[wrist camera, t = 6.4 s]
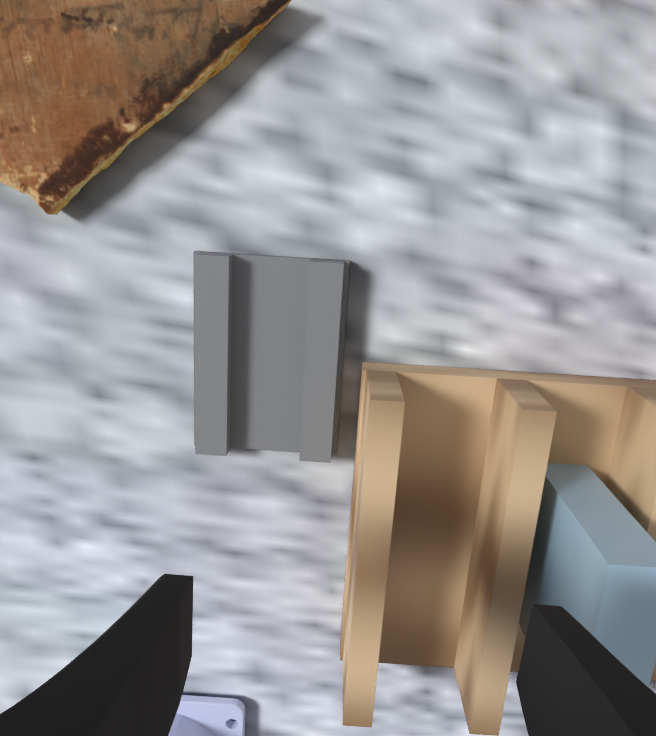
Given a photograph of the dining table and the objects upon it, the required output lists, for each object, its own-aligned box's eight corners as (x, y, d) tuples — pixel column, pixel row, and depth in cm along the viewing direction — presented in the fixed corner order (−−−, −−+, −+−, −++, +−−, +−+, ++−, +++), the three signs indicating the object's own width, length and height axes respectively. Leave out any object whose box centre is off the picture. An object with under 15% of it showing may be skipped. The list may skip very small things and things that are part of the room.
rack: (690, 664, 25) (755, 752, 21) (340, 642, 25) (340, 725, 21) (770, 387, 21) (865, 431, 17) (362, 361, 21) (366, 399, 17)
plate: (559, 608, 23) (632, 750, 17) (512, 606, 23) (569, 746, 17) (587, 465, 21) (679, 569, 15) (536, 462, 21) (609, 564, 15)
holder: (336, 451, 22) (336, 462, 21) (196, 441, 22) (190, 453, 21) (349, 260, 20) (350, 264, 19) (195, 251, 20) (188, 254, 19)
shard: (298, 7, 19) (294, -12, 17) (256, 253, 21) (249, 258, 19) (-53, -72, 18) (-95, -100, 16) (-58, 187, 20) (-95, 186, 19)
